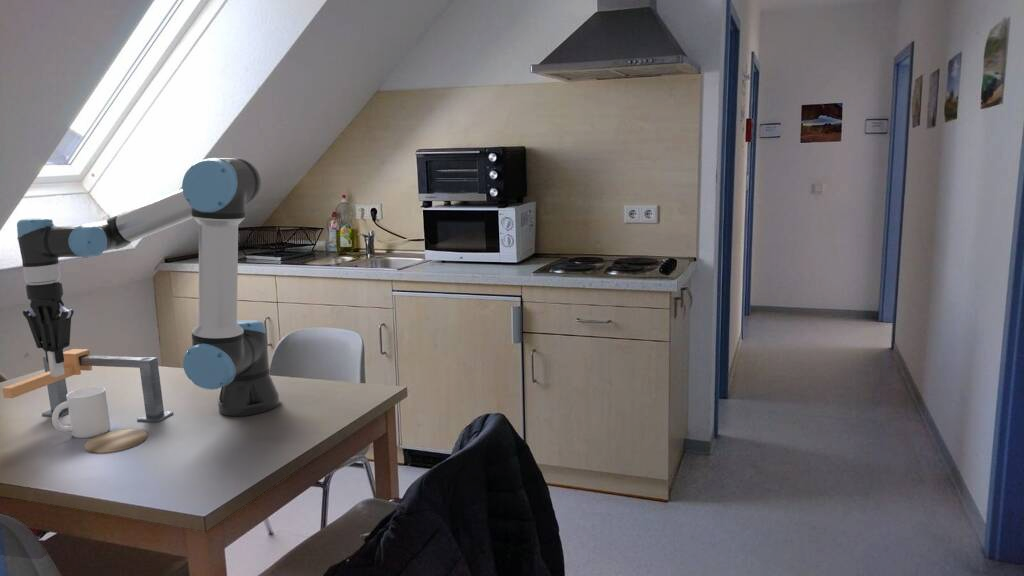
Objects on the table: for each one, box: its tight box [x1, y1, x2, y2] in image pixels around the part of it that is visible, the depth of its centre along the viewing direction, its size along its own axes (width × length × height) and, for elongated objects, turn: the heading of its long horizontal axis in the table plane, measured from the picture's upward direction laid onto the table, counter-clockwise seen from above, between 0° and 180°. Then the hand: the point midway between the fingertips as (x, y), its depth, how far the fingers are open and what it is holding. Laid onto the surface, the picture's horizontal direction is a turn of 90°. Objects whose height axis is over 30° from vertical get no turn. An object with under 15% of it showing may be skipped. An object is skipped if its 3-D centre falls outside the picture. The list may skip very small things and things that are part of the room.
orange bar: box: [1, 348, 93, 399], centre depth 187 cm, size 5×23×6 cm, turn 166°
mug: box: [51, 386, 111, 439], centre depth 182 cm, size 12×8×10 cm
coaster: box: [84, 428, 148, 454], centre depth 177 cm, size 13×13×1 cm
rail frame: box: [41, 354, 174, 423], centre depth 195 cm, size 35×6×16 cm, turn 77°
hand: (57, 375), depth 188 cm, fingers closed
